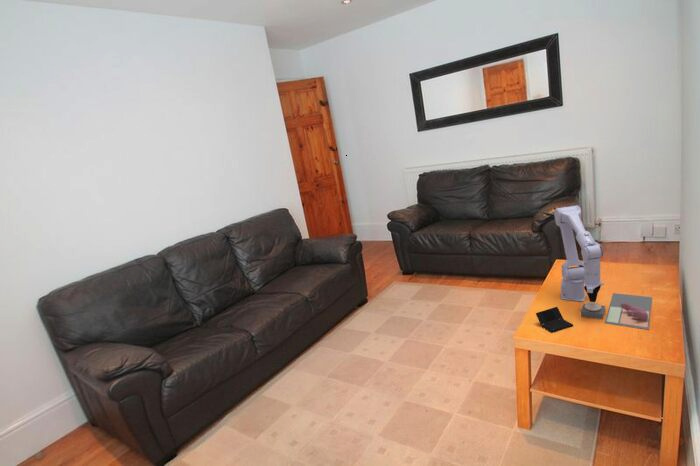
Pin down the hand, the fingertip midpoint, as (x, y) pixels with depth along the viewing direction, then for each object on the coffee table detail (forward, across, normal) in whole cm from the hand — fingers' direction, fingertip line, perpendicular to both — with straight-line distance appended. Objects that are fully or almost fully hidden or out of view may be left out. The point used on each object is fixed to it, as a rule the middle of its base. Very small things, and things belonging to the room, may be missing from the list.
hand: (592, 301), depth 165 cm
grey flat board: (+6, +8, -12) cm, 16 cm away
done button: (+6, 0, 0) cm, 6 cm away
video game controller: (+4, 0, -12) cm, 13 cm away
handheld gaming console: (+6, -15, +12) cm, 20 cm away
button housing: (+6, 0, 0) cm, 6 cm away
